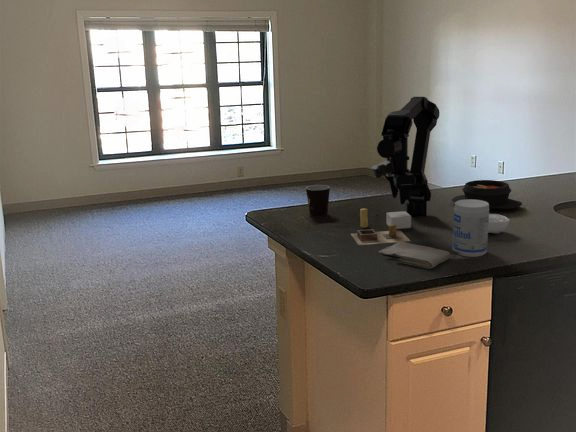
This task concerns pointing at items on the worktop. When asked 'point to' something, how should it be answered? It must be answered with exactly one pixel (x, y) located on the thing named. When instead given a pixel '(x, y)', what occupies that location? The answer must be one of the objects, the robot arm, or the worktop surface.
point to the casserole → (489, 194)
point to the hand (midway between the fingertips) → (398, 200)
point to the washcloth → (416, 254)
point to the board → (379, 236)
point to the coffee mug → (318, 199)
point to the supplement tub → (470, 227)
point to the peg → (363, 218)
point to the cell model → (497, 223)
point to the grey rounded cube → (399, 219)
